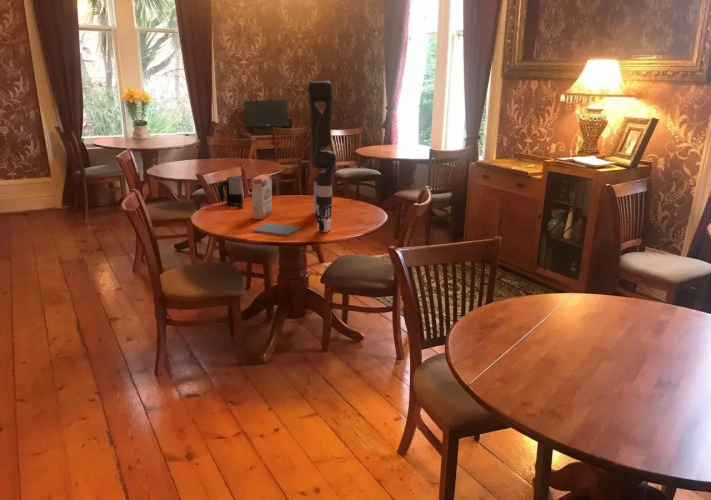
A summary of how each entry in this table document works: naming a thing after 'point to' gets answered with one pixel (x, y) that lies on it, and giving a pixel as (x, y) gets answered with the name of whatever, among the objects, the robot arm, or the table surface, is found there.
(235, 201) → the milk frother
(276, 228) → the slate mat
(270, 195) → the cracker box
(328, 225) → the cream cube
